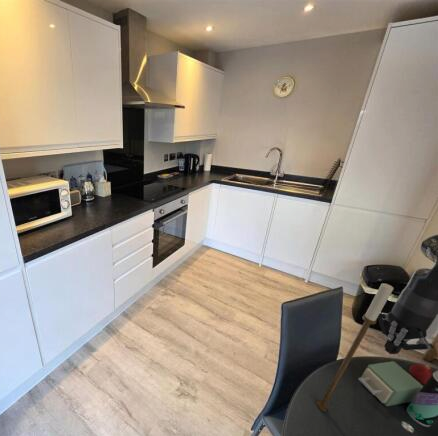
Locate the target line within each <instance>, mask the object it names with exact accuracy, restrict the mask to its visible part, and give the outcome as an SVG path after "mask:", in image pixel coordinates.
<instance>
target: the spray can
mask: <svg viewBox="0 0 438 436" xmlns="http://www.w3.org/2000/svg"><path fill="white" fill-rule="evenodd" d="M422 386H423V388H422V389H421V390H420V391H419V393H418V394H417V395H416V397H415V398H414V399H413V401H412V402H409V404H408V406H407V407H406V413H407V415H408V416H409V417H410V418H411V419H412V420H413V421H414V422H415V423H417V424H419V425H421V426H423V427H426V428H429V427H432V425H433V424H435V422H436V421H437V419H438V369H437V370H435V371H434V372H433V374H432V376H431V377H430V378H429V380H428V381H427V382H426V384H423V385H422Z"/></svg>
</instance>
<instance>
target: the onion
mask: <svg viewBox="0 0 438 436" xmlns="http://www.w3.org/2000/svg"><path fill="white" fill-rule="evenodd" d="M433 373H434V372H433V370H432V367H431V366H430V365H428V364H426V365H425V364H421V363H415V364H412V365H411V366H410V367H409V375H411V376H412V377H413V378H414V379H415V380H417V381H418V382H419V383H420V384H421V385H425V384H426V382H427V381H428V380H429V378H430V377H431V376H432V374H433Z"/></svg>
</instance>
